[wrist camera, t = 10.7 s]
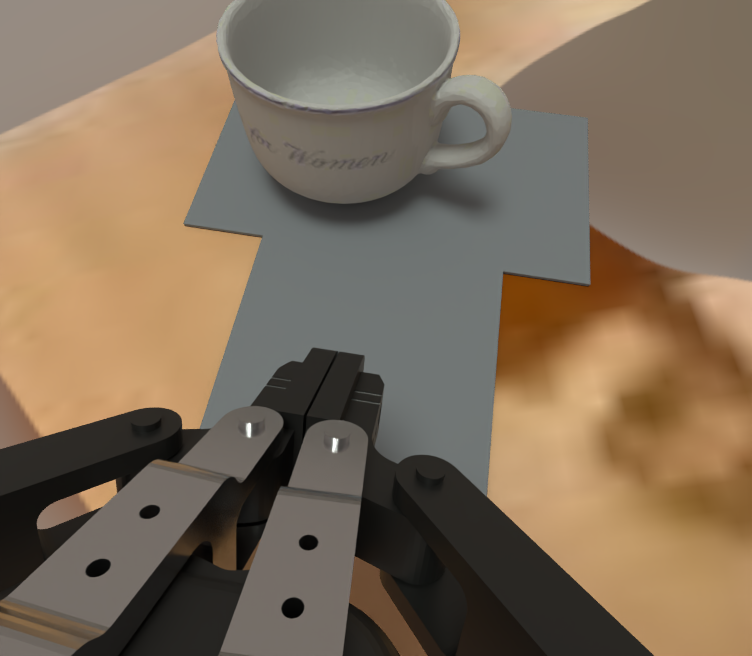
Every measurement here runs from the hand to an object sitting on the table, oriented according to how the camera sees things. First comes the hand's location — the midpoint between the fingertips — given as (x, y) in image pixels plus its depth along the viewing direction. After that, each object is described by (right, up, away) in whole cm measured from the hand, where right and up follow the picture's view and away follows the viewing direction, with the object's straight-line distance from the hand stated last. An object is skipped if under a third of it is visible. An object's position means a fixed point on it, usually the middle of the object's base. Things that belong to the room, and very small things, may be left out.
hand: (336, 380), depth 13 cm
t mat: (+1, +5, +12) cm, 13 cm away
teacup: (+1, +11, +14) cm, 18 cm away
